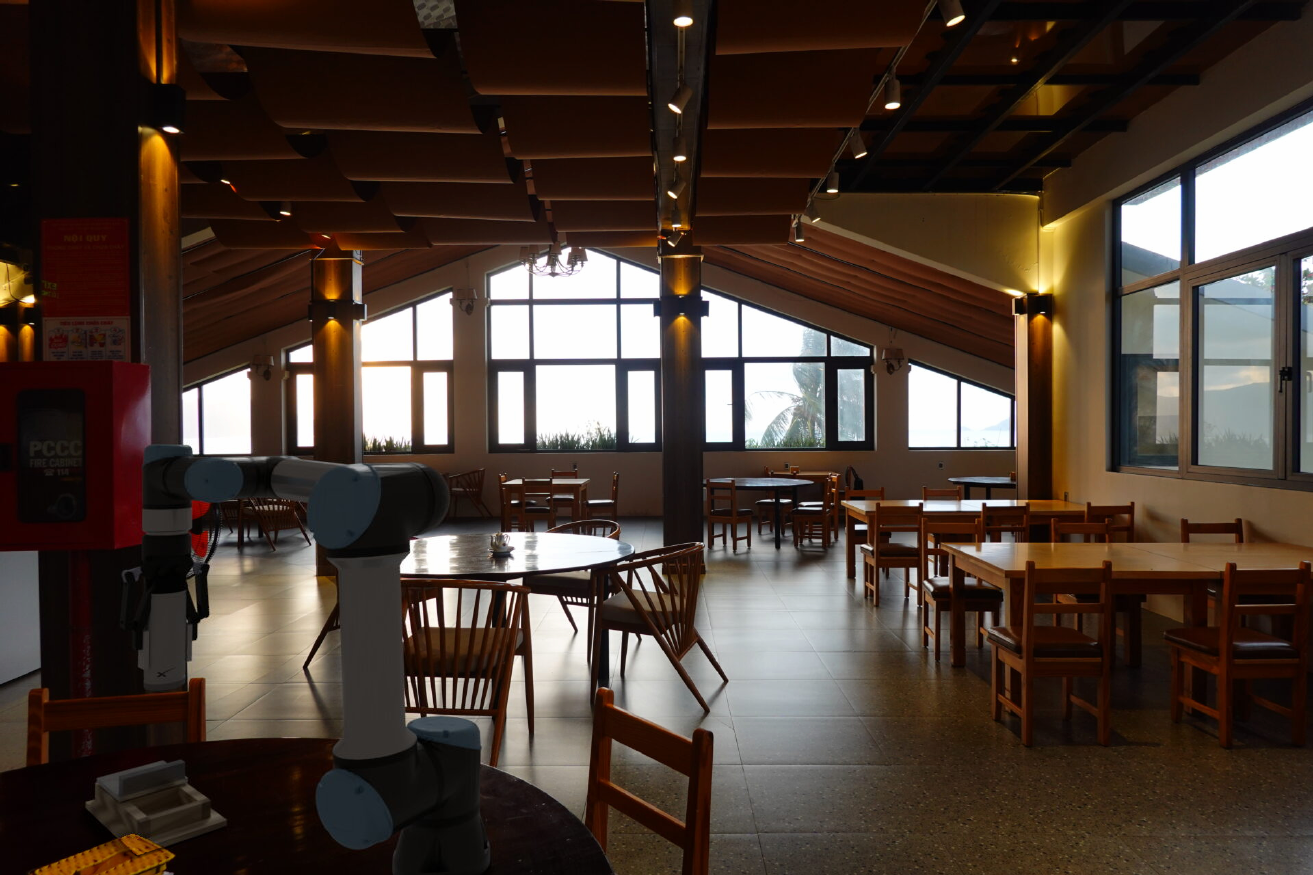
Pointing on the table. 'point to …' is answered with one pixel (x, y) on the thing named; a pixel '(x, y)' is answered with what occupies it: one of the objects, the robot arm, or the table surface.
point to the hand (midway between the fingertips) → (165, 663)
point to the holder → (157, 814)
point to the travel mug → (166, 633)
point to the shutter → (144, 779)
